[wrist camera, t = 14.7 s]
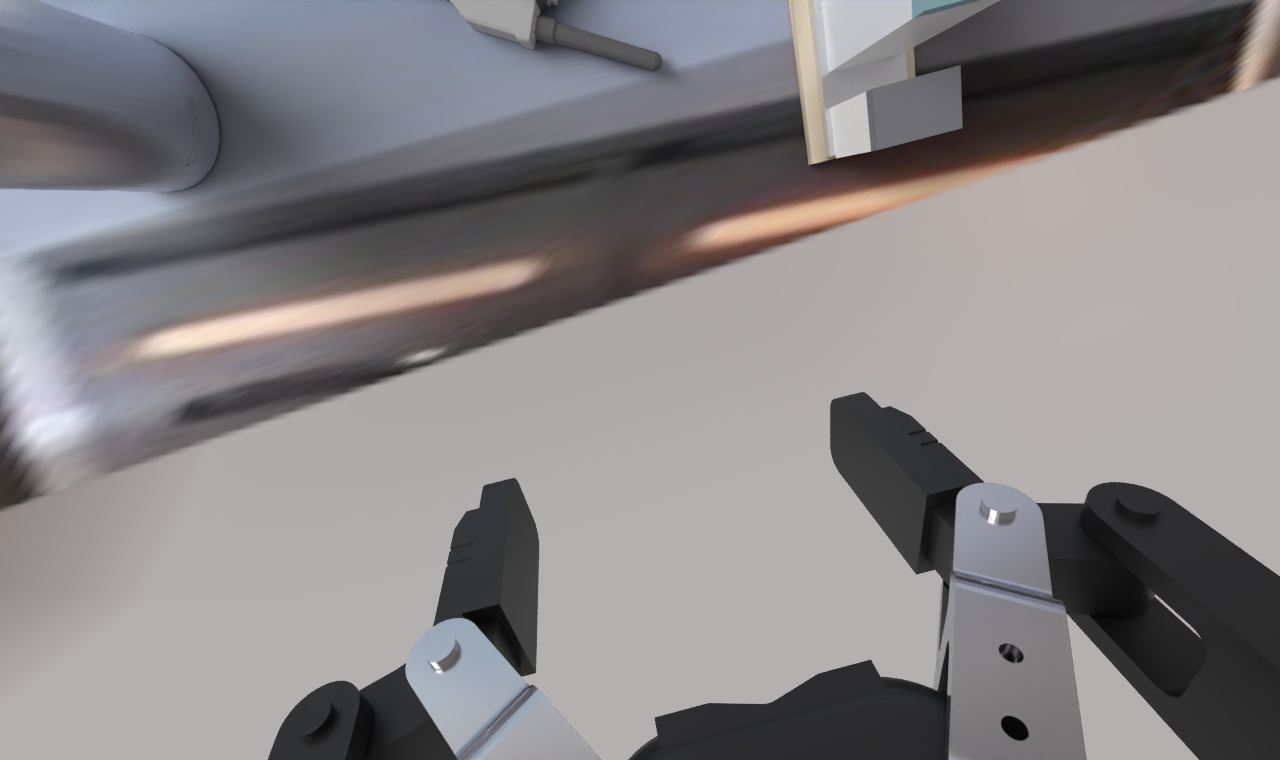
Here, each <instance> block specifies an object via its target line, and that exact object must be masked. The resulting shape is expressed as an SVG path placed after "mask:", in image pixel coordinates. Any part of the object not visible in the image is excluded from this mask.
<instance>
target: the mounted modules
mask: <svg viewBox="0 0 1280 760" xmlns="http://www.w3.org/2000/svg"><path fill="white" fill-rule="evenodd" d="M830 109H831V118H832V127H833V136H834V146H835V155H836V158H841V157H846V156H851V155H856V154H861V153H866V152H870V151H875V150H880V149H884V148H888V147H891V146H895V145H899V144H903V143H907V142H911V141H914V140H918V139H922V138H926V137H930V136H934V135H938V134H941V133H945V132H949V131H953V130H957V129H961V128H963V127H962V96H961V65H959V66H955V67H951V68H948V69H944V70H940V71H936V72H933V73H929V74H925V75H922V76H918V77H914V78H910V79H907V80H903V81H899V82H895V83H892V84H888V85H884V86H880V87H877V88H873V89H871V90H868V91H866V92H864V93H862V94H860V95H858V96H855V97H853V98H851V99H849V100H847V101H845V102H842V103H840V104H838V105H836V106H834V107H832V108H830Z"/></svg>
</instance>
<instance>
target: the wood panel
mask: <svg viewBox="0 0 1280 760" xmlns="http://www.w3.org/2000/svg"><path fill="white" fill-rule="evenodd" d="M788 4H789V12H790V20H791V28H792V36H793V44H794V52H795V60H796V68H797V76H798V84H799V92H800V100H801V108H802V115H803V123H804V131H805V139H806V147H807V155H808V163H809V165H811V164H815V163H819V162H823V161H827V160H831V159H835V158H836V155H834V156H830V157H826V155H825V147H824V138H823V129H822V121H821V112H820V103H819V94H818V86H817V77H816V68H815V60H814V51H813V42H812V33H811V25H810V16H809V7H808V0H788ZM906 62H907V78H908V79H910V78H914V77H915V61H914V47H913V48H911V49H910V50H908V51H906Z"/></svg>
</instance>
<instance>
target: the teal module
mask: <svg viewBox="0 0 1280 760" xmlns="http://www.w3.org/2000/svg"><path fill="white" fill-rule="evenodd" d="M998 1H1000V0H822V8H823V18H824V28H825V39H826V49H827V59H828V69H829V72H833V71H837V70H841V69H845V68H848V67H852V66H856V65H860V64H864V63H868V62H871V61H875V60H879V59H883V58H887V57H891V56H894V55H898V54H902V53H904V52H906V51H908V50H910V49H911V48H913V47H915V46H917V45H919V44H921V43H923V42H924V41H926V40H928V39H930V38H932V37H934V36H936V35H937V34H939V33H941V32H943V31H945V30H947V29H948V28H950V27H952V26H954V25H956V24H958V23H960V22H961V21H963V20H965V19H967V18H969V17H971V16H973V15H974V14H976V13H978V12H980V11H982V10H984V9H985V8H987V7H989V6H991V5H993V4H995V3H997V2H998Z"/></svg>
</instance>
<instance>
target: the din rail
mask: <svg viewBox="0 0 1280 760" xmlns="http://www.w3.org/2000/svg"><path fill="white" fill-rule="evenodd" d="M808 7H809V16H810V25H811V33H812V42H813V51H814V60H815V68H816V77H817V86H818V94H819V103H820V112H821V121H822V129H823V138H824V147H825V155H826V157H830V156H834V155H835V146H834V136H833V127H832V118H831V109H830V108H832V107H834V106H836V105H838V104H840V103H842V102H845V101H847V100H849V99H851V98H853V97H855V96H858V95H860V94H862V93H864V92H866V91H868V90H871V89H873V88H877V87H880V86H884V85H888V84H892V83H895V82H899V81H903V80H907V79H908V78H907V62H906V52H904V53H902V54H898V55H894V56H891V57H887V58H883V59H879V60H875V61H871V62H868V63H864V64H860V65H856V66H852V67H848V68H845V69H841V70H837V71H833V72H829V69H828V59H827V49H826V39H825V28H824V18H823V8H822V0H808Z"/></svg>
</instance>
